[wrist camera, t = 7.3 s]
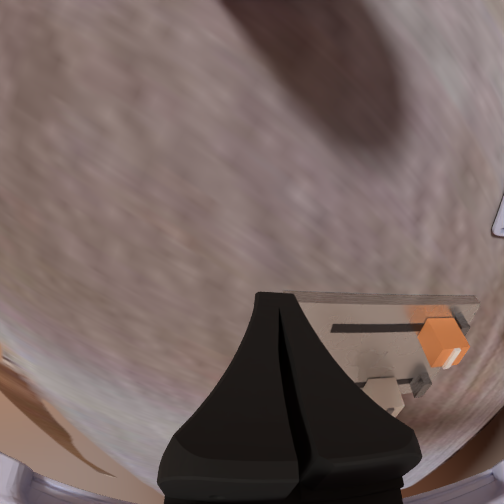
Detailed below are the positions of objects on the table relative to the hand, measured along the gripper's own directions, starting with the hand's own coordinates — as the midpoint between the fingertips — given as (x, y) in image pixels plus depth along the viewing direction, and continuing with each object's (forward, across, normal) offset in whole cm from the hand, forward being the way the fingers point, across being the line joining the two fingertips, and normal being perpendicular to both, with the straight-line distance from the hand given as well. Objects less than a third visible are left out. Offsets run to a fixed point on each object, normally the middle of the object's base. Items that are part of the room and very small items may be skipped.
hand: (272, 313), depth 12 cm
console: (+9, -11, +13) cm, 19 cm away
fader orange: (+8, -16, +9) cm, 20 cm away
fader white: (+8, -13, +17) cm, 23 cm away
